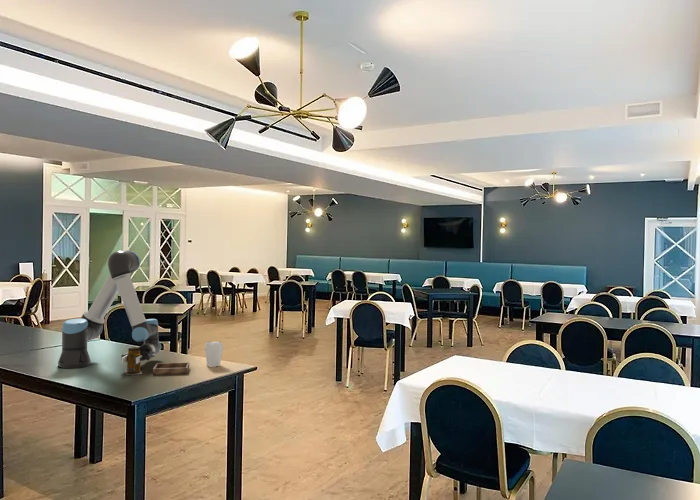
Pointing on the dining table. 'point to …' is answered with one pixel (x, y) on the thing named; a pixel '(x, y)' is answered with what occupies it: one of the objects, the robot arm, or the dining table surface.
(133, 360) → the condiment
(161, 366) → the holder tray
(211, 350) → the cup
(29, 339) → the dining table surface
